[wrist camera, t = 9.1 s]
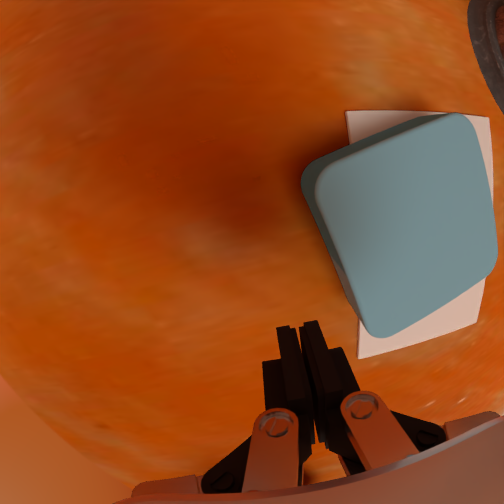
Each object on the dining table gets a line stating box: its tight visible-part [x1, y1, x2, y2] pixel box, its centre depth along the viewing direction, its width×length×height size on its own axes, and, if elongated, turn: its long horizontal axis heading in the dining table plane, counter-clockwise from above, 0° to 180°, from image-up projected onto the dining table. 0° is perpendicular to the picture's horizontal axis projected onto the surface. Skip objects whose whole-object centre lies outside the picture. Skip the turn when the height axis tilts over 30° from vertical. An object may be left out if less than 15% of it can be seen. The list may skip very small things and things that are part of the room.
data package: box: [301, 113, 498, 338], centre depth 17 cm, size 12×4×12 cm
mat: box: [345, 110, 493, 359], centre depth 20 cm, size 20×14×1 cm
